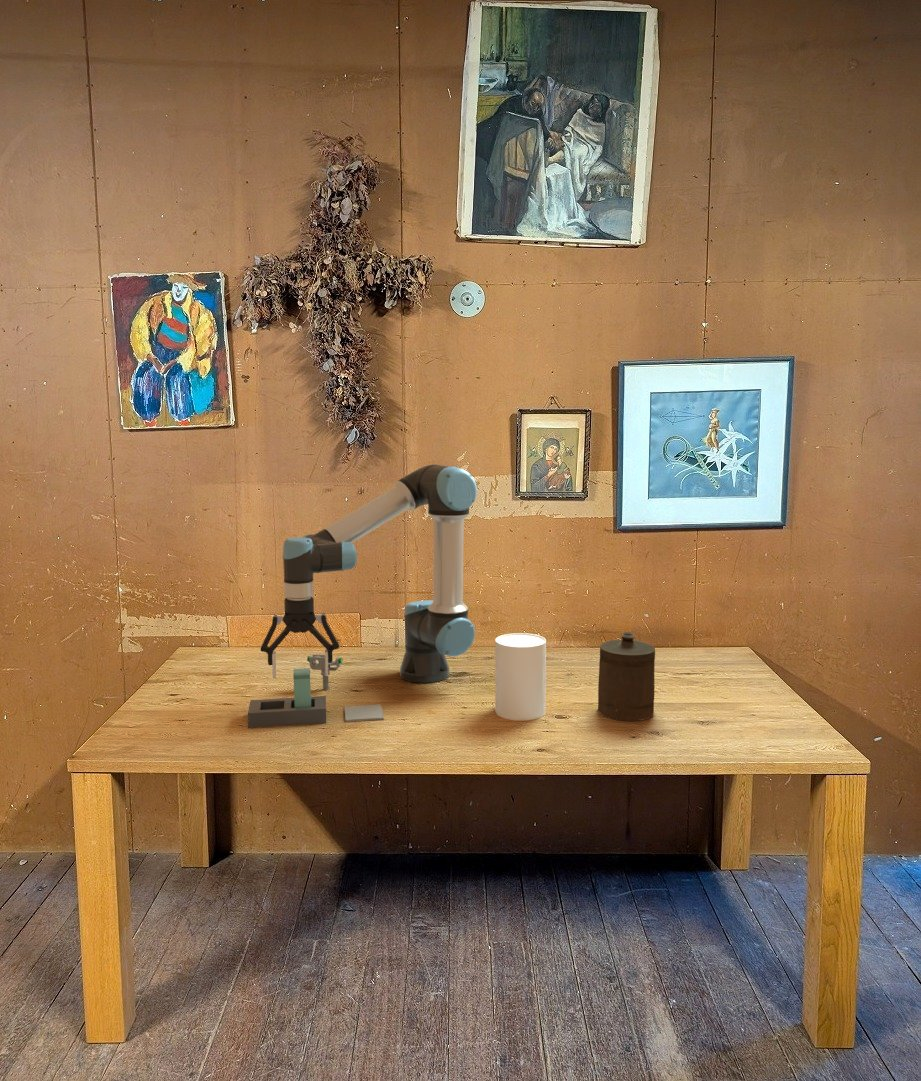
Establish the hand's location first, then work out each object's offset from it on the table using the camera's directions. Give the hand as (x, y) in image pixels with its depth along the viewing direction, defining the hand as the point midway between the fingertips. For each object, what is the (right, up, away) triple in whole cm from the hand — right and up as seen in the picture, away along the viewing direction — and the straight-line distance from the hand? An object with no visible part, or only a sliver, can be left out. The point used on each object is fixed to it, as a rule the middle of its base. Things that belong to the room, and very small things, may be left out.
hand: (300, 675), depth 233 cm
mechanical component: (+3, -8, +24) cm, 26 cm away
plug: (0, -12, +2) cm, 12 cm away
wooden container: (+87, -11, +5) cm, 88 cm away
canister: (+58, -11, +6) cm, 60 cm away
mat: (+16, -11, +5) cm, 20 cm away
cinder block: (-4, -12, +1) cm, 12 cm away
